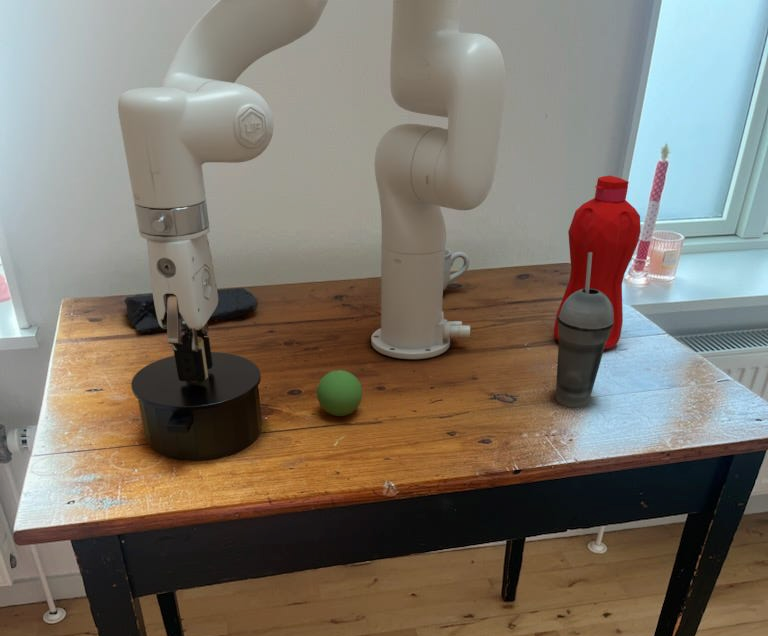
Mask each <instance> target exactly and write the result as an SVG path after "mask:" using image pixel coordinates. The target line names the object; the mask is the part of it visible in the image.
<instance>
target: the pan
mask: <svg viewBox="0 0 768 636" xmlns="http://www.w3.org/2000/svg"><path fill="white" fill-rule="evenodd" d="M259 389H260V388H259V386H258V387H257V388H256V389H255V391H253V392H252V393H251V394H250V395H248V396H246V397H245V398H243V399H241V400H239V401H236V402H234V403H231V404H228V405H225V406H221V407H217V408H212V409H206V410H198V411H172V410H164V409H159V408H155V407H152V406H149V405H147V404H144V403H143V402H141V401H139V400H138V399H137V402H138V408H139V413H140V417H141V422H142V428H143V432H144V437H145V440H146V443H147V445H148V446H149V448H150V449H151V450H153V451H154V452H155V453H157V454H158V455H161V456H163V457H165V458H168V459H169V458H170V459H173V460H178V461H192V462H193V461H197V462H198V461H199V462H201V461H209V460H215V459H221V458H225V457H229V456H231V455H235V454H237V453H240V452H241V451H244V450H245V449H247V448H248V447H250V446H251V445H253V444H254V443H255V442H256V441H257V440H258V439H259V437H260V435H261V433H262V430H263V429H262V428H263V427H262V426H263V421H262V411H261V410H262V409H261V400H260V392H259V391H260V390H259Z"/></svg>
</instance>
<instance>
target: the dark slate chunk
mask: <svg viewBox="0 0 768 636" xmlns="http://www.w3.org/2000/svg"><path fill="white" fill-rule="evenodd" d="M217 292H218V305H217V307H216V309H215V310H214V312H213V314H212V315H211V317H210V318H209V320H208V321H207V324H209V323H211V324H212V323H216V322H221V321H228V320H232V319H236V320H237V319H238V317H241V316H243V315H247V314H248V313H251V312H254V311H255V310H256V309H257V308H258V300H257V298H256V297H255V296H254V294H253V293H252V292H250V291H248V290H247V289H246V288H244V287H237V288H224V289H217ZM124 303H125V306H126V311H127V315H128V320H129V323H130V326H131V327H134V329H135V330H136V331H137V332H140V333H145V334H149V333H151V332H157V331H167V329H163V328H162V327H161V326H160V325H159V323H158V319H157V315H156V310H155V305H154V299H153V294H150V295H141V296H140V295H137V296H128V297H126V298H125V300H124ZM181 324H182V321H181Z"/></svg>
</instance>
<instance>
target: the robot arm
mask: <svg viewBox="0 0 768 636" xmlns="http://www.w3.org/2000/svg"><path fill="white" fill-rule="evenodd" d="M328 2H329V0H217V1H215V3H214V4H213V5H212V6H210V7H209V8H208V10H206V12H205V13H203V15H202V16H200V18H198V20H197V21H196V22H195V23H194V25H193V26H192V27H191V28H190V29H189V31H188V32H187V34H186V35H185V37H184V38H183V40H182V42H181V43H180V45H179V47H178V49H177V51H176V53H175V54H174V56H173V58H172V60H171V62H170V65H169V67H168V68H167V71H166V73H165V75H164V76H163V77H164V78H163V79H162V83H160V84H161V85H160V87H159V86H158V87H157V86H153V87H139V88H132V89H128V90H126V91H124V92H122V94H121V95H120V96H119V98H118V102H117V113H118V118H119V124H120V130H121V137H122V142H123V147H124V153H125V157H126V164H127V169H128V176H129V181H130V186H131V187H130V188H131V193H132V199H133V203H134V210H135V215H136V220H137V226H138V231H139V236H140V237H141V238H143V239H145V240H146V242H147V243H146V244H147V256H148V257H147V258H148V267H149V268H148V269H149V276H150V284H151V293H152V295H153V299H154V305H155V310H156V315H157V320H158V323H159V325H160V326H161V327H162V328H163V329H167V330H166V336H167V337H166V339H167V343H168V344H169V345H171V347H172V351H173V354H174V355H173V356H175V361H176V367H177V373H178V379H179V380H180V381H192V382H203V381H204V380H205V378H206V376H205V369H204V362H203V355H202V349H198V339H197V337H201V338H202V339H203V342H204V349H205V356H206V364H207V369H211V368H212V366H213V363H212V356H211V352H212V348H211V341H210V337H209V325H208V324H209V323H207V321H208V320H209V318H210V317H211V315H212V314H213V312H214V310H215V309H216V307H217V305H218V292H217V290H218V287H217V280H216V274H215V268H214V263H213V257H212V252H211V251H212V250H211V246H210V241H209V237H208V234H209V233H210V231H211V230H210V221H209V213H208V212H209V211H208V203H207V198H206V197H207V196H206V189H205V188H206V187H205V180H204V172H203V165H204V164H206V163H225V164H226V163H229V164H234V163H235V164H237V163H238V164H239V163H244V162H248V161H252V160H254V159H256V158H257V157H259V156H260V155H262V154H263V153H264V152H265V150H267V148H268V147H269V145H270V143H271V141H272V138H273V134H274V127H275V126H274V125H275V123H274V117H273V113H272V110H271V108H270V105H269V104H268V103H267V101H266V99H264V97H263V96H262V95H261V94H260V93H258V91H255V90H254V89H253V88H251V87H248V86H247V85H244V84H241V83H235V82H236V81H237V79H238V78H240V76H241V75H242V74H243V73H244V72H245V71H246V70H247V69H248V68H249V67H250V66H252V65H253V64H254V63H255V62H257V61H258V60H259V59H261V58H262V57H265V56H266V55H268V54H270V53H272V52H274V51H276V50H279V49H281V48H283V47H285V46H288V45H290V44H292V43H294V42H295V41H297V40H299V39H301V38H302V37H304V36H306V35H307V34H309V33H310V32H311V31H312V30H313V29H314V28H315V27H316V26H317V24H318V22H319V20H320V19H321V17H322V15H323V12H324V10H325V8H326V6H327V5H328ZM460 8H461V0H392V21H391V22H392V24H391V42H390V44H391V45H390V63H389V65H390V66H389V86H390V93H391V97H392V99H393V102H394V103H395V104H396V105H397V106H398V107H399V108H401V109H403V110H405V111H408V112H411V113H415V114H421V115H426V116H434V117H435V116H436V117H442V118H447V128H443V127H439V126H432V125H426V124H420V123H403V124H400V125H396V126H393V127H392V128H390V129H388V130H387V131H386V132H385V133H384V134H383V136H382V137H381V138H380V139H379V142H378V144H377V147H376V149H375V154H374V175H375V180H376V187H377V191H378V192H377V193H378V197H379V203H380V204H379V205H380V218H381V248H380V249H381V252H380V253H381V254H380V255H381V258H380V260H381V262H380V264H381V266H380V268H381V269H380V328H378V329H376V330H375V331H374V332H372V334H371V340H370V342H371V343H370V344H371V346H372V348H373V350H375V351H376V352H378V353H379V354H381V355H384V356H387V357H390V358H394V359H400V360H423V359H430V358H434V357H437V356H440V355H442V354H444V353H445V352H446V351H448V349H450V345H451V338H458V339H470V338H471V337H470V336H471V325H464V324H463V321H462V320H453V321H451V320H448V319H445V316H444V315H445V314H444V310H443V299H444V290H443V282H444V264H445V248H446V246H447V245H446V244H447V228H446V227H447V226H446V222H445V221H446V220H445V218H444V214H443V211H442V208H446V209H450V210H451V209H452V210H455V211H456V210H457V211H471V210H474V209H476V208H478V207H479V206H480V205H482V204H483V202H484V201H485V200H486V198H487V197H488V195H489V194H490V191H491V189H492V186H493V183H494V179H495V175H496V174H495V173H496V169H497V162H498V154H499V147H500V140H501V139H500V138H501V130H502V122H503V116H504V107H505V106H504V105H505V99H506V89H507V72H506V71H507V70H506V66H505V65H506V64H505V60H504V57H503V53H502V51H501V50H500V48H499V46H498V45H497V43H496V42H495V41H494V40H493V39H491V38H490V37H488V36H487V35H483V34H480V33H474V32H460ZM181 321H182V324H181ZM189 336H190V338H189Z"/></svg>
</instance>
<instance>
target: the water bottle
mask: <svg viewBox="0 0 768 636" xmlns="http://www.w3.org/2000/svg"><path fill="white" fill-rule="evenodd" d="M629 183H630V182H629V181H628V180H626V179H623V178H620V177H617V176H614V175H611V174H610V175H603V176H599V177H598V178H597V180H596V185H595V186H594V188H595V192H594V198H591V199H590V200H588V201H586V202H584V203H582V204H581V205H580V206H579V207H578V208H577V209H576V210H575V211H574V213H573V217H572V220H571V223H570V226H569V229H568V232H567V233H568V234H567V235H568V246H569V258H570V259H569V260H570V275H569V281H568V283H567V286H566V288H565V291H564V293H563V297H562V299H561V302H560V305H559V307H558V310H557V313H556V316H555V320H554V321H555V322H554V326H553V336H554V338H555V339H556V340H557V341H558V342H559V334H558V320H557V319H558V316H559V314H560V311H561V308H562V305H563V304H564V302H565V301H566V299H567V298H568V297H569V296H570V295H572V294H573V293H575V292H576V291H578V290H581V289H585V285H586V273H587V261H588V253H589V252H591V253H592V263H591V275H590V287H589V288H591V289H596V290H598V291H601V292H602V293H603V294H605V295H606V296H607V297H608V299H609V300H610V302H611V304H612V307H613V311H614V317H613V320H614V325H613V327H612V328H611V332H610V335H609V337H608V340H606V344H605V347H604V350H607V349H611V348H614V347H615V346H617V344H618V343H619V340H620V339H621V335H622V329H623V321H624V318H623V315H624V314H623V282H624V278H625V275H626V272H627V269H628V267H629V265H630V262H631V261H632V259H633V256H634V254H635V252H636V249H637V246H638V243H639V240H640V236H641V230H642V229H641V215H640V214H639V212H638V211H637V209H636V208H635V207H634V206H633V205H631V203H630V202H628V200H627V195H628V190H629V189H628V188H629Z"/></svg>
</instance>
